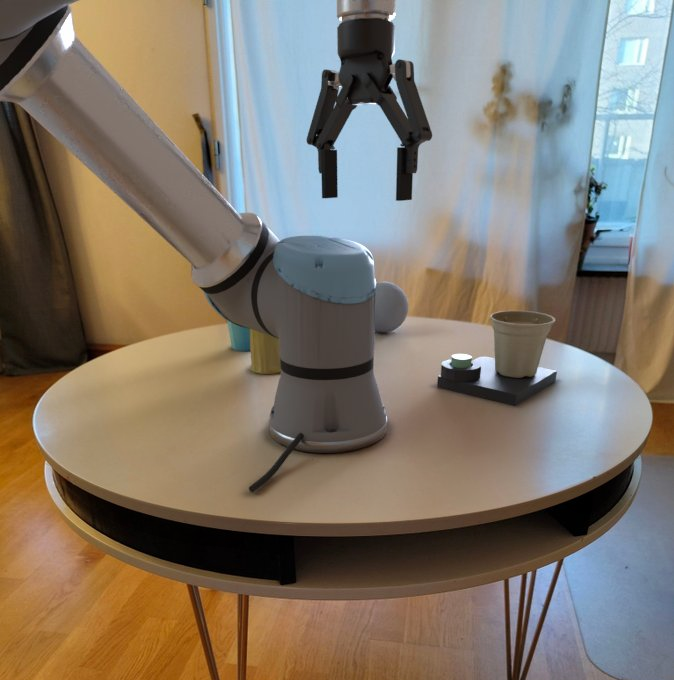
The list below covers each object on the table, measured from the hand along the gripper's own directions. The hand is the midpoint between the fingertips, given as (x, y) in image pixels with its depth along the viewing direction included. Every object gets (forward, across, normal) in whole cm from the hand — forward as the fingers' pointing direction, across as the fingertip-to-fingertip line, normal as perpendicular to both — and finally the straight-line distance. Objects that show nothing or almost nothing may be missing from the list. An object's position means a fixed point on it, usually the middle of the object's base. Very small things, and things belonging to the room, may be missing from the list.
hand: (365, 199), depth 88 cm
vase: (+27, +15, +7) cm, 32 cm away
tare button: (+24, -14, -5) cm, 28 cm away
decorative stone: (+27, +15, -25) cm, 40 cm away
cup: (+27, +29, +1) cm, 40 cm away
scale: (+27, -18, -10) cm, 34 cm away
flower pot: (+25, -20, -12) cm, 35 cm away
